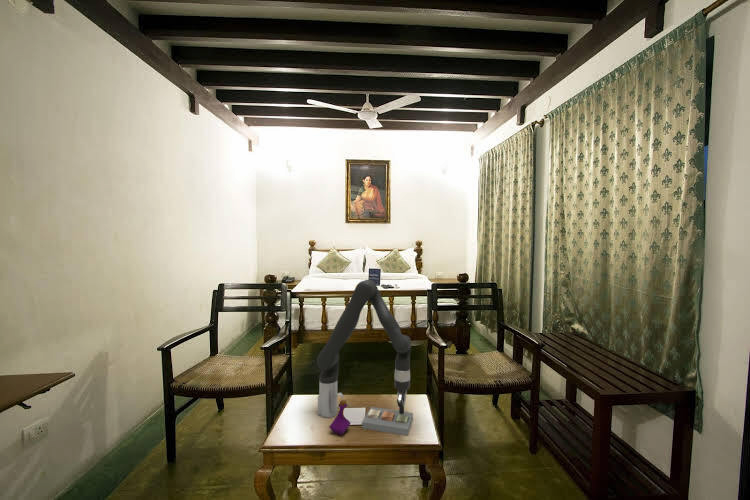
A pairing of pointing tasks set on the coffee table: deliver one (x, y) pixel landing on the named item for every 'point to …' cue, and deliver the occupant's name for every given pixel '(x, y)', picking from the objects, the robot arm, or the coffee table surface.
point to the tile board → (388, 422)
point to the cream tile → (374, 414)
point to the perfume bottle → (340, 419)
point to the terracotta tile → (388, 416)
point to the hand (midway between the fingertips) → (401, 413)
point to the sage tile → (402, 419)
